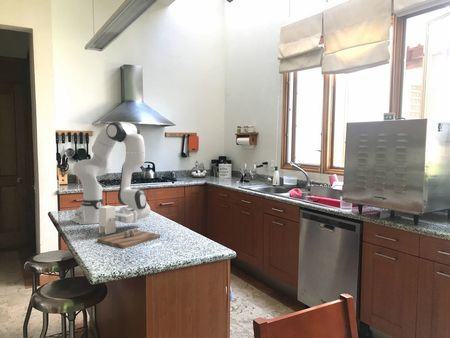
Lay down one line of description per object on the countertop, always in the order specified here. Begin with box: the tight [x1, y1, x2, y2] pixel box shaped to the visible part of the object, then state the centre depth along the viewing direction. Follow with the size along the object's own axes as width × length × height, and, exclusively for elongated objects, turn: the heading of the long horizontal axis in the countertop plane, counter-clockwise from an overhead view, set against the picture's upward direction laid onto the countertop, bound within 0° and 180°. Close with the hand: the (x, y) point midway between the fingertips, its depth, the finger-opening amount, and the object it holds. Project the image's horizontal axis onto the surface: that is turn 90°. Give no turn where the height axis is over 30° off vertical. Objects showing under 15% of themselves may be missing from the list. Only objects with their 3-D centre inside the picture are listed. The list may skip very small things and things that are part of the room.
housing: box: [98, 204, 117, 235], centre depth 198 cm, size 6×6×14 cm
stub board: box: [96, 228, 161, 249], centre depth 189 cm, size 20×24×4 cm
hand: (105, 218), depth 197 cm, fingers closed on housing, 6 cm apart
